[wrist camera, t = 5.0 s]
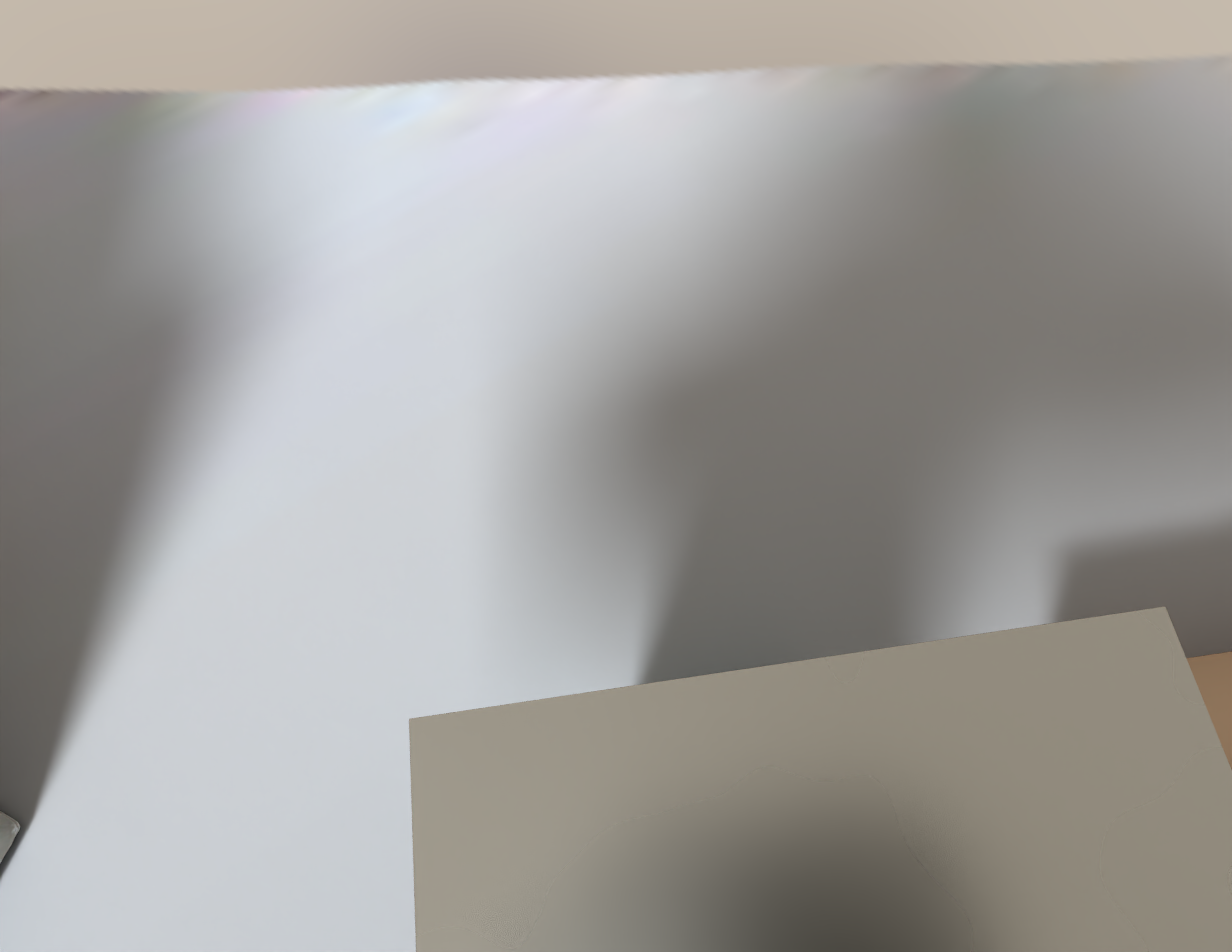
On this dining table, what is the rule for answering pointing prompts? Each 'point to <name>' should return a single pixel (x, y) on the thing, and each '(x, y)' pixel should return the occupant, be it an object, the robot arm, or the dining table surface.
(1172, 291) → the dining table surface
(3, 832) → the skincare box
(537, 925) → the tea tin
